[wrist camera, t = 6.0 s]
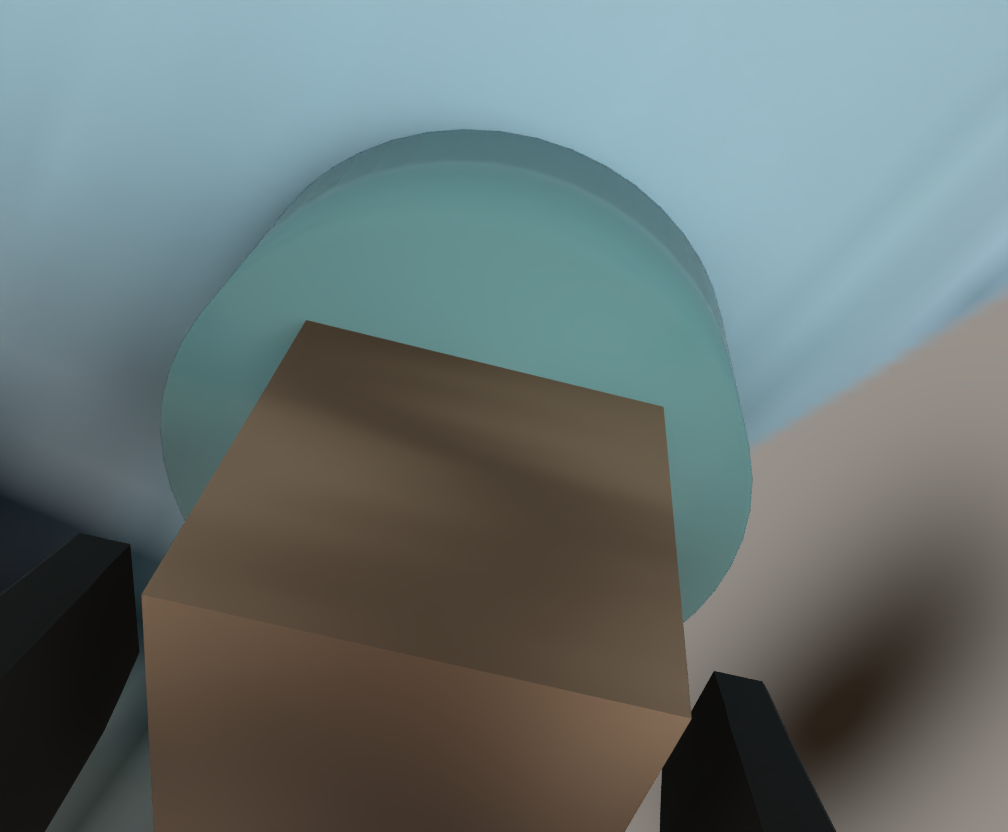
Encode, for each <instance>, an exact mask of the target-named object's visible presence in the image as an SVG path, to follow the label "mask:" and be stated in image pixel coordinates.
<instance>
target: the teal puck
mask: <svg viewBox="0 0 1008 832" xmlns="http://www.w3.org/2000/svg"><path fill="white" fill-rule="evenodd" d="M306 320H309V321H313V322H317V323H321V324H325V325H329V326H333V327H337V328H342V329H346V330H350V331H354V332H358V333H362V334H366V335H370V336H374V337H379V338H383V339H387V340H391V341H395V342H399V343H403V344H407V345H412V346H416V347H420V348H424V349H428V350H432V351H436V352H440V353H444V354H449V355H453V356H457V357H461V358H465V359H469V360H473V361H477V362H481V363H486V364H490V365H494V366H498V367H502V368H506V369H510V370H514V371H519V372H523V373H527V374H531V375H535V376H539V377H543V378H547V379H551V380H556V381H560V382H564V383H568V384H572V385H576V386H580V387H584V388H589V389H593V390H597V391H601V392H605V393H609V394H613V395H617V396H621V397H626V398H630V399H634V400H638V401H642V402H646V403H650V404H654V405H659V406H663V407H664V417H665V428H666V439H667V450H668V461H669V472H670V483H671V494H672V505H673V517H674V528H675V539H676V550H677V561H678V572H679V583H680V594H681V606H682V617H683V623H684V622H685V621H686V620H687V619H688V618H690V616H692V615H693V614H694V613H695V612H696V611H697V610H698V609H699V608H700V607H701V606H702V605H703V604H704V602H705V601H706V600H707V599H708V598H709V597H710V596H711V595H712V593H713V592H714V591H715V590H716V588H717V587H718V585H719V584H720V582H721V581H722V579H723V578H724V576H725V575H726V573H727V572H728V570H729V568H730V567H731V565H732V563H733V561H734V558H735V556H736V554H737V551H738V549H739V547H740V545H741V542H742V540H743V537H744V533H745V529H746V525H747V521H748V517H749V513H750V507H751V493H752V469H751V460H750V450H749V444H748V439H747V434H746V430H745V425H744V420H743V416H742V411H741V406H740V402H739V397H738V392H737V388H736V383H735V378H734V374H733V369H732V364H731V359H730V355H729V350H728V345H727V341H726V336H725V331H724V327H723V322H722V317H721V314H720V310H719V307H718V303H717V299H716V296H715V292H714V289H713V286H712V284H711V282H710V280H709V277H708V275H707V273H706V271H705V269H704V266H703V264H702V262H701V260H700V258H699V257H698V255H697V254H696V252H695V251H694V249H693V247H692V246H691V244H690V243H689V241H688V240H687V238H686V236H685V235H684V233H683V232H682V231H681V230H680V229H679V228H678V226H677V225H676V224H675V223H674V222H673V221H672V220H671V218H670V217H669V216H668V215H667V214H666V213H665V211H664V210H663V209H662V208H661V207H660V206H659V205H657V204H656V203H655V202H654V201H653V200H652V199H651V198H649V197H648V196H647V195H646V194H645V193H644V192H643V191H641V190H640V189H639V188H638V187H637V186H636V185H634V184H633V183H631V182H630V181H628V180H627V179H625V178H624V177H622V176H621V175H619V174H618V173H616V172H614V171H613V170H611V169H610V168H608V167H607V166H605V165H603V164H601V163H599V162H597V161H595V160H593V159H591V158H589V157H587V156H585V155H582V154H580V153H578V152H576V151H574V150H572V149H569V148H566V147H563V146H560V145H557V144H554V143H550V142H547V141H544V140H541V139H538V138H534V137H528V136H523V135H518V134H512V133H507V132H502V131H486V130H467V129H461V130H449V131H437V132H426V133H422V134H417V135H413V136H408V137H404V138H399V139H395V140H391V141H389V142H386V143H383V144H381V145H378V146H375V147H373V148H370V149H368V150H365V151H362V152H360V153H358V154H356V155H355V156H353V157H351V158H349V159H347V160H346V161H344V162H342V163H340V164H338V165H337V166H335V167H333V168H331V169H330V170H329V171H328V172H326V173H325V174H324V175H322V176H321V177H320V178H318V179H317V180H316V181H315V182H313V183H312V184H311V185H309V186H308V187H307V188H306V189H305V190H304V191H303V192H302V193H301V194H300V195H299V196H298V197H297V198H296V199H295V201H294V202H293V203H292V204H291V205H290V206H289V207H288V208H287V209H286V210H285V211H284V213H283V214H282V215H281V216H280V217H279V219H278V220H277V221H276V222H275V224H274V225H273V226H272V227H271V228H270V230H269V231H268V232H267V233H266V235H265V236H264V237H263V238H262V239H261V241H260V242H259V243H258V244H257V246H256V247H255V248H254V249H253V250H252V252H251V253H250V254H249V255H248V257H247V258H246V259H245V260H244V261H243V263H242V264H241V265H240V266H239V267H238V269H237V270H236V271H235V272H234V274H233V275H232V276H231V277H230V278H229V280H228V281H227V282H226V283H225V285H224V286H223V287H222V288H221V289H220V291H219V292H218V293H217V294H216V296H215V297H214V298H213V299H212V300H211V302H210V303H209V304H208V305H207V307H206V308H205V309H204V310H203V311H202V313H201V314H200V315H199V317H198V318H197V320H196V321H195V323H194V324H193V326H192V327H191V329H190V330H189V332H188V333H187V335H186V336H185V338H184V339H183V341H182V343H181V345H180V347H179V349H178V352H177V354H176V356H175V359H174V361H173V363H172V365H171V368H170V370H169V374H168V378H167V382H166V386H165V391H164V395H163V399H162V411H161V428H160V433H161V442H162V451H163V460H164V464H165V468H166V472H167V475H168V479H169V483H170V486H171V490H172V492H173V495H174V497H175V499H176V502H177V504H178V506H179V508H180V511H181V513H182V515H183V518H184V519H185V521H186V520H187V518H188V516H189V515H190V513H191V511H192V510H193V508H194V506H195V505H196V503H197V501H198V500H199V498H200V496H201V495H202V493H203V491H204V490H205V488H206V486H207V485H208V483H209V481H210V480H211V478H212V476H213V475H214V473H215V471H216V470H217V468H218V466H219V465H220V463H221V461H222V460H223V458H224V456H225V455H226V453H227V451H228V450H229V448H230V446H231V445H232V443H233V441H234V440H235V438H236V436H237V435H238V433H239V431H240V430H241V428H242V426H243V425H244V423H245V421H246V420H247V418H248V416H249V415H250V413H251V411H252V410H253V408H254V406H255V405H256V403H257V401H258V400H259V398H260V396H261V395H262V393H263V391H264V390H265V388H266V386H267V385H268V383H269V381H270V380H271V378H272V376H273V375H274V373H275V371H276V370H277V368H278V366H279V365H280V363H281V361H282V360H283V358H284V356H285V355H286V353H287V351H288V349H289V348H290V346H291V344H292V343H293V341H294V339H295V338H296V336H297V334H298V333H299V331H300V329H301V328H302V326H303V324H304V323H305V321H306Z"/></svg>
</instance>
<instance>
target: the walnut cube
mask: <svg viewBox="0 0 1008 832" xmlns="http://www.w3.org/2000/svg"><path fill="white" fill-rule="evenodd" d="M142 612H143V632H144V651H145V670H146V689H147V708H148V727H149V747H150V766H151V785H152V804H153V823H154V832H625V830H626V829H627V827H628V825H629V824H630V822H631V820H632V818H633V817H634V815H635V813H636V812H637V810H638V808H639V807H640V805H641V803H642V802H643V800H644V798H645V796H646V795H647V793H648V791H649V790H650V788H651V786H652V785H653V783H654V781H655V780H656V778H657V776H658V775H659V773H660V771H661V770H662V768H663V766H664V764H665V763H666V761H667V759H668V758H669V756H670V754H671V753H672V751H673V749H674V748H675V746H676V744H677V743H678V741H679V739H680V737H681V736H682V734H683V732H684V731H685V729H686V727H687V726H688V724H689V722H690V721H691V719H692V717H691V706H690V695H689V684H688V672H687V662H686V650H685V640H684V628H683V617H682V606H681V594H680V583H679V572H678V561H677V550H676V539H675V528H674V517H673V505H672V494H671V483H670V472H669V461H668V450H667V439H666V428H665V417H664V407H663V406H659V405H654V404H650V403H646V402H642V401H638V400H634V399H630V398H626V397H621V396H617V395H613V394H609V393H605V392H601V391H597V390H593V389H589V388H584V387H580V386H576V385H572V384H568V383H564V382H560V381H556V380H551V379H547V378H543V377H539V376H535V375H531V374H527V373H523V372H519V371H514V370H510V369H506V368H502V367H498V366H494V365H490V364H486V363H481V362H477V361H473V360H469V359H465V358H461V357H457V356H453V355H449V354H444V353H440V352H436V351H432V350H428V349H424V348H420V347H416V346H412V345H407V344H403V343H399V342H395V341H391V340H387V339H383V338H379V337H374V336H370V335H366V334H362V333H358V332H354V331H350V330H346V329H342V328H337V327H333V326H329V325H325V324H321V323H317V322H313V321H309V320H306V321H305V323H304V324H303V326H302V328H301V329H300V331H299V333H298V334H297V336H296V338H295V339H294V341H293V343H292V344H291V346H290V348H289V349H288V351H287V353H286V355H285V356H284V358H283V360H282V361H281V363H280V365H279V366H278V368H277V370H276V371H275V373H274V375H273V376H272V378H271V380H270V381H269V383H268V385H267V386H266V388H265V390H264V391H263V393H262V395H261V396H260V398H259V400H258V401H257V403H256V405H255V406H254V408H253V410H252V411H251V413H250V415H249V416H248V418H247V420H246V421H245V423H244V425H243V426H242V428H241V430H240V431H239V433H238V435H237V436H236V438H235V440H234V441H233V443H232V445H231V446H230V448H229V450H228V451H227V453H226V455H225V456H224V458H223V460H222V461H221V463H220V465H219V466H218V468H217V470H216V471H215V473H214V475H213V476H212V478H211V480H210V481H209V483H208V485H207V486H206V488H205V490H204V491H203V493H202V495H201V496H200V498H199V500H198V501H197V503H196V505H195V506H194V508H193V510H192V511H191V513H190V515H189V516H188V518H187V520H186V521H185V523H184V525H183V526H182V528H181V530H180V531H179V533H178V535H177V536H176V538H175V540H174V541H173V543H172V545H171V546H170V548H169V550H168V551H167V553H166V555H165V556H164V558H163V560H162V561H161V563H160V565H159V566H158V568H157V570H156V571H155V573H154V575H153V576H152V578H151V580H150V581H149V583H148V585H147V586H146V588H145V590H144V591H143V593H142Z"/></svg>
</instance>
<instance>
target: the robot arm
mask: <svg viewBox="0 0 1008 832" xmlns="http://www.w3.org/2000/svg"><path fill="white" fill-rule="evenodd" d="M138 654H139V642H138V631H137V619H136V607H135V595H134V583H133V572H132V560H131V548H130V544H127V543H122V542H117V541H113V540H108V539H104V538H99V537H94V536H90V535H85V534H81V533H80V534H78V535H76V536H74V537H72V538H71V539H70V540H68V541H67V542H66V543H64V544H63V545H62V546H61V547H59V548H58V549H57V550H55V551H54V552H53V553H52V554H50V555H49V556H48V557H46V558H45V559H44V560H43V561H41V562H40V563H39V564H38V565H36V566H35V567H34V568H32V569H31V570H30V571H29V572H27V573H26V574H25V575H23V576H22V577H21V578H20V579H18V580H17V581H16V582H14V583H13V584H12V585H11V586H9V587H8V588H7V589H5V590H4V591H3V592H2V593H0V832H45V830H46V829H47V827H48V825H49V824H50V822H51V820H52V819H53V817H54V815H55V814H56V812H57V810H58V809H59V807H60V805H61V804H62V802H63V800H64V799H65V797H66V795H67V794H68V792H69V790H70V788H71V787H72V785H73V783H74V782H75V780H76V778H77V777H78V775H79V773H80V771H81V770H82V768H83V766H84V765H85V763H86V761H87V760H88V758H89V756H90V754H91V753H92V751H93V749H94V748H95V746H96V744H97V742H98V741H99V739H100V737H101V735H102V734H103V732H104V730H105V728H106V725H107V723H108V721H109V719H110V717H111V715H112V713H113V710H114V708H115V706H116V704H117V702H118V700H119V697H120V695H121V693H122V691H123V688H124V686H125V684H126V681H127V679H128V677H129V675H130V672H131V670H132V668H133V665H134V663H135V661H136V659H137V656H138ZM691 717H692V719H691V721H690V722H689V724H688V726H687V727H686V729H685V731H684V732H683V734H682V736H681V737H680V739H679V741H678V743H677V744H676V746H675V748H674V749H673V751H672V753H671V754H670V756H669V758H668V759H667V761H666V763H665V764H664V766H663V768H662V785H661V808H660V809H661V810H660V832H836V830H835V828H834V826H833V824H832V823H831V820H830V818H829V816H828V814H827V812H826V810H825V809H824V806H823V805H822V803H821V801H820V798H819V797H818V794H817V793H816V791H815V788H814V786H813V784H812V782H811V780H810V778H809V776H808V774H807V772H806V770H805V768H804V766H803V764H802V762H801V760H800V758H799V756H798V754H797V751H796V749H795V747H794V745H793V743H792V741H791V739H790V737H789V735H788V732H787V730H786V728H785V726H784V724H783V722H782V720H781V718H780V716H779V713H778V711H777V709H776V707H775V705H774V703H773V701H772V699H771V697H770V695H769V692H768V690H767V689H766V687H765V685H764V684H763V682H762V681H758V680H753V679H748V678H744V677H739V676H735V675H730V674H725V673H721V672H716V671H714V672H713V674H712V676H711V677H710V679H709V681H708V683H707V684H706V686H705V688H704V690H703V692H702V694H701V695H700V697H699V699H698V701H697V702H696V704H695V706H694V708H693V710H692V711H691Z"/></svg>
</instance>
